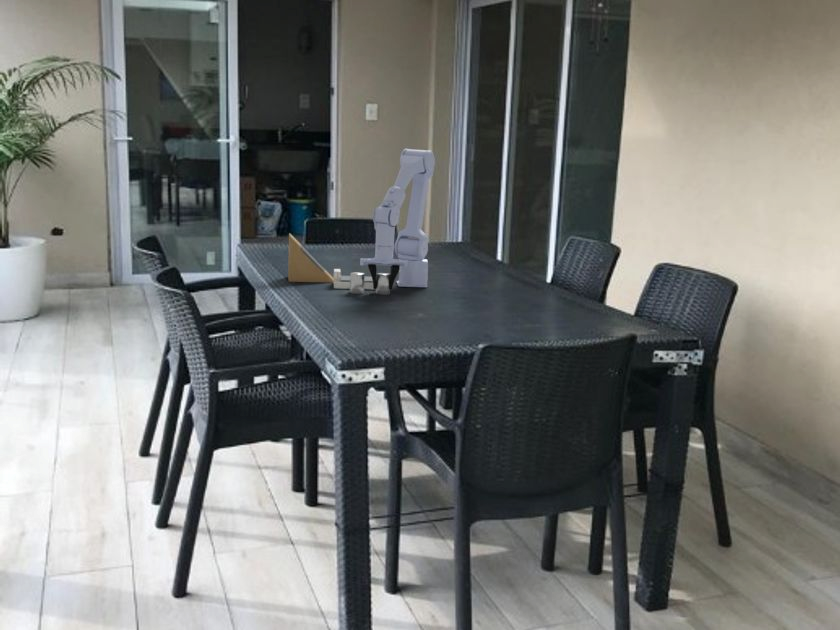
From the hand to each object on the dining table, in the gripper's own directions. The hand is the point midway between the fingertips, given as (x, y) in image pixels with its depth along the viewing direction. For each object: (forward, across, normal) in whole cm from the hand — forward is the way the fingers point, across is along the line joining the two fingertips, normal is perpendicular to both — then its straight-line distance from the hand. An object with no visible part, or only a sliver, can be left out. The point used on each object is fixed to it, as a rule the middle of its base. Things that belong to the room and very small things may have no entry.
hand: (382, 288), depth 273 cm
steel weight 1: (+2, -8, 0) cm, 8 cm away
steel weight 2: (+1, 0, 0) cm, 1 cm away
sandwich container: (+2, -22, +19) cm, 29 cm away
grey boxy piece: (+1, -8, +10) cm, 13 cm away
